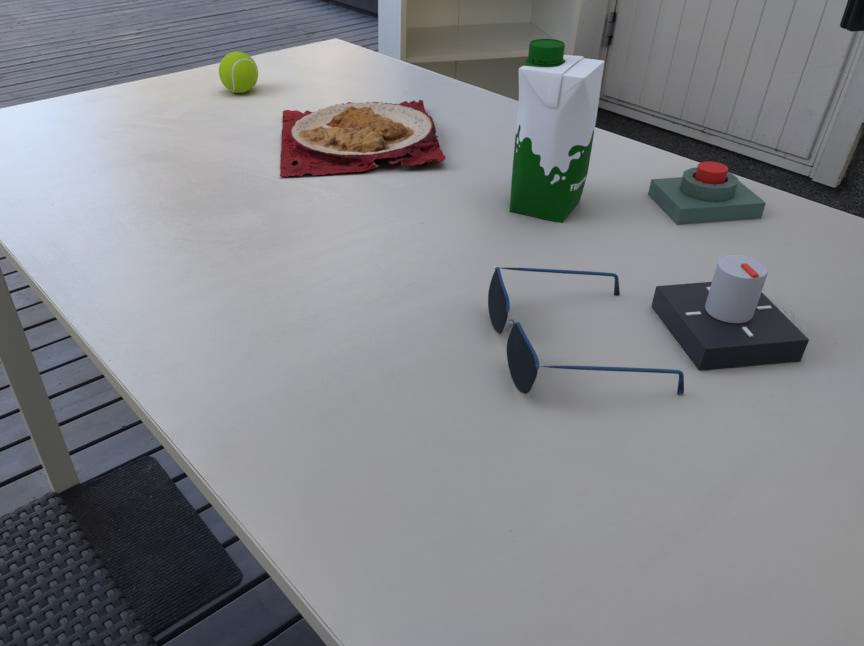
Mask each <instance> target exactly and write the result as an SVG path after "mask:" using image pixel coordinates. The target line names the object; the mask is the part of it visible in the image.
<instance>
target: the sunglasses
mask: <svg viewBox="0 0 864 646" xmlns="http://www.w3.org/2000/svg"><path fill="white" fill-rule="evenodd" d="M501 269H502V270H509V271H519V272H533V273H535V272H536V273H548V274H549V273H550V274H551V273H552V274H568V275H570V274H571V275H585V276H601V277H613V278H614V288H613V289H614V290H613V296H620V295H621V293H620V281H619V279H620V278H619V275H618V274H616V273H613V272H604V271H591V270H590V271H588V270H573V269H572V270H571V269H570V270H569V269H555V268H553V269H552V268H538V267H537V268H534V267H533V268H532V267H499V266H496V267H495V268H494V272H493V274H492V277H491V280H490V282H489V283H490V284H489V288H488V293H487V305H488V306H487V307H488V314H489V319H490V322H491V325H492V328H493V330H494V331H495V333H497V334H498V335H502V333H503V332H504V331H505V332H506V333H507V332H509V334H508V337H507V342H506V359H507V365H508V370H509V373H510V376H511V379H512V381H513V384H514V385H515V387H516V389H517V391H518V392H520V393H521V394H525V395H527V394H528V393H530V392H531V390H532V388H533V386H534V384H535V382H536V379H537V376H538V373H539V371H538V370H539V369H540V368H541V367H542V368H549V369H563V370H577V371H598V372H599V371H601V372H622V373H623V372H625V373H651V374H672V375H678V381H677V391H676V393H677V395H684V394H685V374H684V372H683V371H682V370H681V369H671V368H670V369H669V368H650V367H648V368H647V367H629V366H628V367H627V366H626V367H623V366H600V365H599V366H596V365H540V360H539V356H538V354H537V352H536V349H534V347H533V345H532V343H531V341H530V340H529V337H528V336H527V334H526V333H525V330H524V328H523V327H522V324H521V322H519V321H515V320H514V319H513V318H512V319H509V320H508V316H509V313H510V310H511V309H510V307H511V306H510V305H511V304H510V297H509V294H508V291H507V289H506V288H507V287H506V285H505V283H504V280H503V276H502V272H501ZM507 321H508V322H511V323H508V324H507Z"/></svg>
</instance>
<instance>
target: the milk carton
mask: <svg viewBox="0 0 864 646" xmlns="http://www.w3.org/2000/svg"><path fill="white" fill-rule="evenodd" d="M565 48H566V43H565V42H564V41H562V40H559V39H555V38H537V39H533V40H531V41H529V45H528V55H527V56H528V57H527V59H526V60H525V63H523V64H522V65H521V66H519V68H518V102H517V103H518V104H517V115H516V125H515V126H516V127H515V135H514V136H515V137H514V148H513V149H514V150H513V157H512V159H513V160H512V171H511V182H510V183H511V184H510V199H509V212H511V213H516V214H521V215H526V216H530V217H534V218H538V219H541V220H542V219H543V220H547V221H552V222H557V223H561V224H562V223H564V221H565V220H566V219H567V218H568V216H569V215H571V213H572V212H573V210H574V209H575V208H576V207H577V206H578V204H580V202H581V199H582V196H583V192H584V188H585V184H586V181H587V177H588V173H589V166H590V161H591V155H592V149H593V141H594V137H595V129H596V124H597V117H598V110H599V103H600V96H601V90H602V89H601V88H602V81H603V74H604V67H605V63H606V62H605V61H606V60H603V59H595V58H594V59H593V58H588V57H587V58H586V57H584V56H582V55H570V54H565Z"/></svg>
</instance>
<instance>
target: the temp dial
mask: <svg viewBox="0 0 864 646" xmlns="http://www.w3.org/2000/svg"><path fill="white" fill-rule="evenodd" d="M768 274H769V268H768V266H767V265H766V264H765V263H764V262H763V261H761V260H759V259H757V258H754V257H751V256H747V255H742V254H728V255H723V256H722V257H720V258H719V259H718V260H717V264H716V266H715V270H714V273H713V277H712V281H711V282H712V283H711V287H710V290H709V294H708V297H707V300H706V304H705V309H706V311H707V313H708V314H709V315H711V316H712V317H714V318H716V319H718V320H720V321H724V322H728V323H745V322H748V321H750V320H751V319H752V318H753V315H754V312H755V309H756V307H757V304H758V301H759V298H760V295H761V292H762V293H763V288H764V286H765V283H766V280H767V277H768Z"/></svg>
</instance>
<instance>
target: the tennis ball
mask: <svg viewBox="0 0 864 646" xmlns="http://www.w3.org/2000/svg"><path fill="white" fill-rule="evenodd" d="M218 76H219V79H220V82H221V83H222V85H223V86H224V87H225V88H226V89H227V90H228V91H230V92H232V93H234V94H235V93H236V94H244V93H247V92H249V91H251V90H252V89H253V88H254V87H255V86H256V84H257V83H258V79H259V70H258V65H257V62H255V60H254V58H253V57H252V56H250V54H248V53H245V52H244V51H243V52H242V51H232V52H229V53H227V54H226V55H224V56H223V58H222V59H221V60H220V62H219V66H218Z"/></svg>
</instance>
